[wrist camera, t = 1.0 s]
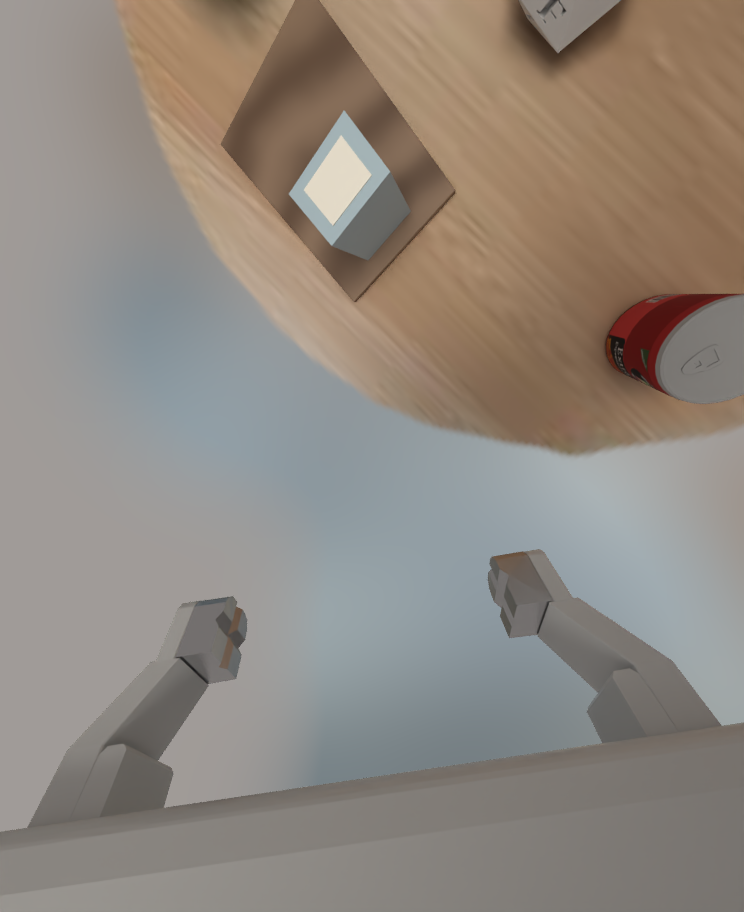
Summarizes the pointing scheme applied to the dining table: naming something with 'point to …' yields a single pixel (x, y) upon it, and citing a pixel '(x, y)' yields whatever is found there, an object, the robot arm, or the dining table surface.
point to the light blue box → (350, 192)
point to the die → (564, 18)
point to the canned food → (683, 345)
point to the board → (307, 125)
